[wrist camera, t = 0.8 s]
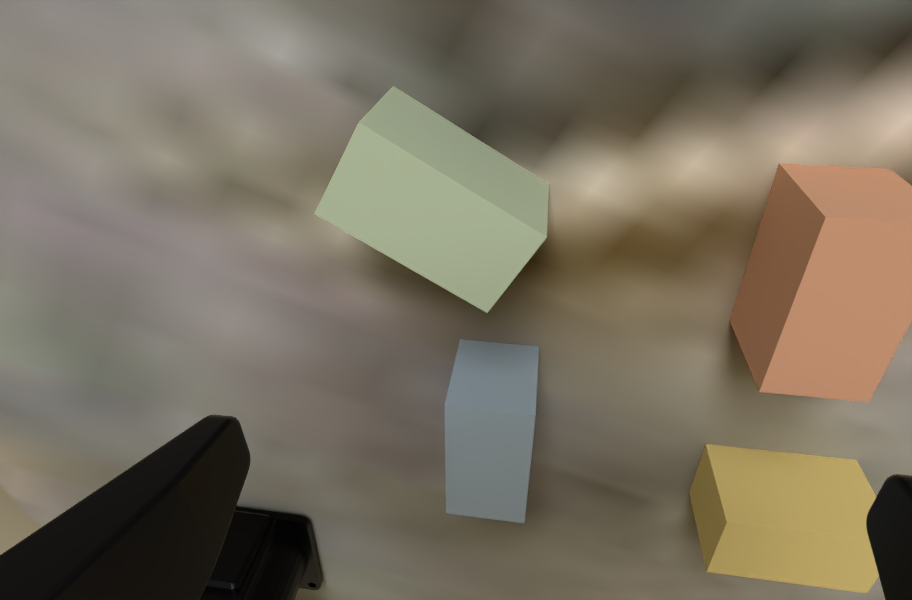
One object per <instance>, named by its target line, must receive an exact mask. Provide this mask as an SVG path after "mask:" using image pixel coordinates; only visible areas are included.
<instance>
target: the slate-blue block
mask: <svg viewBox="0 0 912 600" xmlns="http://www.w3.org/2000/svg"><path fill="white" fill-rule="evenodd" d="M538 358H539V346H528V345H517V344H506V343H495V342H484V341H473V340H462V339H460V341H459V345H458V350H457V354H456V358H455V363H454V367H453V371H452V375H451V380H450V384H449V388H448V393H447V397H446V401H445V405H444V409H445V484H446V513H447V514H455V515H462V516H470V517H478V518H486V519H494V520H502V521H510V522H518V523H525V513H526V504H527V494H528V484H529V475H530V465H531V456H532V446H533V437H534V427H535V417H536V399H537V379H538Z"/></svg>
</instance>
